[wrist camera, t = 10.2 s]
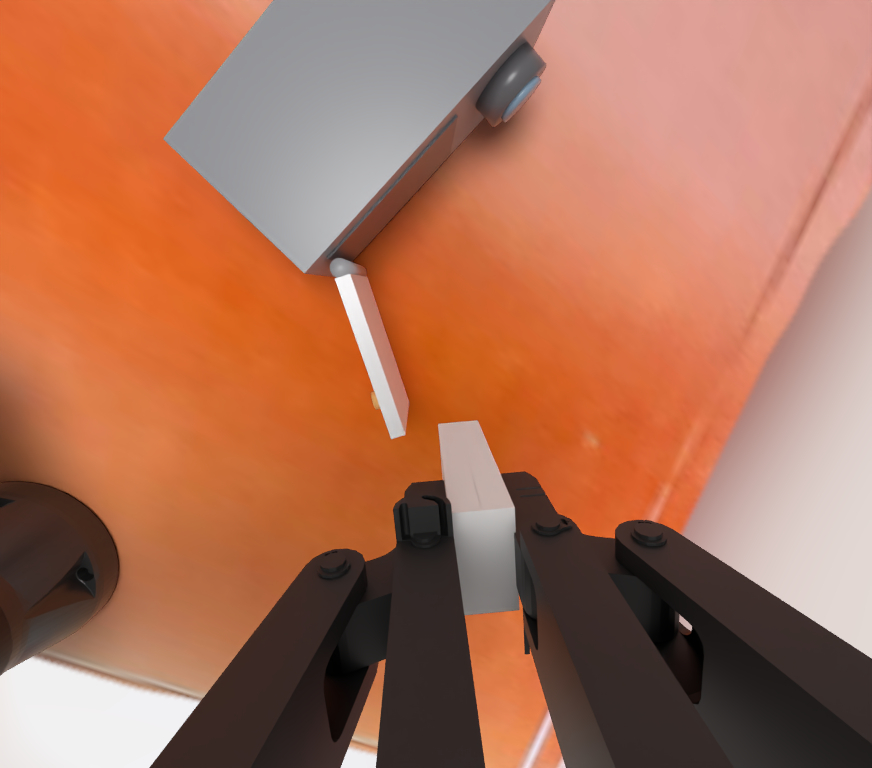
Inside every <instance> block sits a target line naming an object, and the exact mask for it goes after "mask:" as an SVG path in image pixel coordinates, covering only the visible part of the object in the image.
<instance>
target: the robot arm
mask: <svg viewBox="0 0 872 768" xmlns="http://www.w3.org/2000/svg"><path fill="white" fill-rule="evenodd" d="M438 429H439V441H440V453H441V465H442V477H443V480H439V481H428V482H416V483H412V484H411V485H410V486H409V487H408V488H407V489H406V491H405V497H404V498H402V499H401V500H400V501H398V502H397V503H396V504H395V506H394V508H393V513H394V522H395V531H396V539H397V544H396V548H394V549H393V550H392V551H391V552H389V553H387V554H386V555H384V556H382V557H379V558H376V559H373V560H370V561H367V562H365V560H364V558H363V555H362V554H360V553H359V552H357V551H355V550H350V549H335V550H331V551H327V552H324V553H322V554H320V555H319V556H317V557H315V558H313V559H312V560H311V561H310V562H309V563H308V564H307V565H306V566H305V567H304V568H303V570H302V571H301V572H300V573H299V575H298V576H297V577H296V579H295V580H294V581H293V583H292V584H291V585H290V586H289V588H288V589H287V590H286V592H285V593H284V594H283V596H282V597H281V598H280V599H279V601H278V602H277V603H276V605H275V606H274V607H273V608H272V610H271V611H270V612H269V614H268V615H267V616H266V618H265V619H264V620H263V621H262V623H261V624H260V625H259V627H258V628H257V629H256V630H255V632H254V633H253V634H252V636H251V637H250V638H249V640H248V641H247V642H246V643H245V645H244V646H243V647H242V649H241V650H240V651H239V653H238V654H237V655H236V656H235V658H234V659H233V660H232V662H231V663H230V664H229V665H228V667H227V668H226V669H225V671H224V672H223V673H222V675H221V676H220V677H219V678H218V680H217V681H216V682H215V684H214V685H213V686H212V687H211V689H210V690H209V691H208V693H207V694H206V695H205V697H204V698H203V699H202V700H201V702H200V703H199V704H198V706H197V707H196V708H195V709H194V711H193V712H192V713H191V715H190V716H189V717H188V719H187V720H186V721H185V723H184V724H183V725H182V726H181V728H180V729H179V730H178V732H177V733H176V734H175V736H174V737H173V738H172V740H171V741H170V742H169V743H168V744H167V746H166V747H165V748H164V750H163V751H162V752H161V754H160V755H159V756H158V758H157V759H156V760H155V761H154V763H153V764H152V765H151V766H150V768H340V767H341V765H342V762H343V760H344V757H345V754H346V752H347V749H348V747H349V744H350V741H351V739H352V736H353V733H354V731H355V728H356V726H357V723H358V720H359V718H360V715H361V712H362V710H363V707H364V705H365V702H366V699H367V697H368V694H369V691H370V689H371V686H372V684H373V681H374V678H375V676H376V673H377V668H378V662H379V661H381V660H384V659H386V664H385V675H384V686H383V697H382V708H381V718H380V729H379V740H378V751H377V762H376V768H485V763H484V755H483V748H482V741H481V733H480V726H479V719H478V711H477V704H476V696H475V689H474V682H473V674H472V667H471V660H470V652H469V645H468V638H467V630H466V623H465V615H472V614H483V613H493V612H504V611H514V610H519V596H520V599H521V602H522V605H523V620H524V644H525V654H530V649H531V652H532V656H533V659H534V662H535V666H536V669H537V672H538V676H539V679H540V682H541V686H542V689H543V692H544V696H545V699H546V702H547V706H548V709H549V712H550V716H551V719H552V722H553V726H554V729H555V732H556V736H557V739H558V743H559V746H560V749H561V753H562V756H563V759H564V763H565V766H566V768H872V659H871V658H870V657H868V656H867V655H865V654H864V653H862V652H861V651H859V650H857V649H856V648H854V647H853V646H851V645H850V644H848V643H847V642H845V641H844V640H842V639H840V638H839V637H837V636H836V635H834V634H833V633H831V632H829V631H828V630H827V629H825V628H823V627H822V626H820V625H819V624H817V623H816V622H814V621H813V620H811V619H810V618H808V617H807V616H805V615H804V614H802V613H801V612H799V611H797V610H796V609H794V608H793V607H791V606H790V605H788V604H787V603H785V602H784V601H782V600H781V599H779V598H777V597H776V596H774V595H773V594H771V593H770V592H768V591H767V590H765V589H764V588H762V587H760V586H759V585H758V584H756V583H754V582H753V581H751V580H749V579H748V578H747V577H745V576H744V575H742V574H741V573H739V572H737V571H736V570H734V569H733V568H731V567H730V566H728V565H727V564H725V563H724V562H722V561H720V560H719V559H718V558H716V557H714V556H713V555H711V554H710V553H708V552H707V551H705V550H704V549H702V548H701V547H699V546H698V545H696V544H694V543H693V542H691V541H690V540H688V539H687V538H685V537H684V536H682V535H681V534H679V533H678V532H676V531H674V530H673V529H671V528H669V527H667V526H665V525H663V524H659V523H655V522H652V521H648V520H645V521H644V520H634V521H626V522H624V523H622V524H620V525H619V526H618V527H617V528H616V530H615V539H613V538H603V537H595V536H589V535H585V534H582V533H581V531H580V530H579V528H578V527H577V525H576V524H575V523H574V522H573V521H572V520H571V519H569V518H567V517H565V516H563V515H559V514H557V512H556V510H555V509H554V507H553V505H552V504H551V502H550V500H549V499H548V497H547V495H545V492H544V490H543V489H542V488H541V486H540V484H539V482H538V481H537V479H536V478H535V477H533V476H532V475H530V474H528V473H527V472H514V473H503V474H500V472H499V469H498V467H497V465H496V462H495V460H494V458H493V455H492V453H491V451H490V448H489V446H488V444H487V441H486V439H485V436H484V434H483V432H482V429H481V427H480V425H479V422H478V420H476V421H465V422H453V423H442V424H438ZM117 577H118V559H117V553H116V550H115V547H114V544H113V541H112V539H111V537H110V535H109V533H108V532H107V530H106V529H105V527H104V526H103V524H102V523H101V522H100V520H99V519H98V518H97V517H96V516H95V515H94V514H93V513H92V512H91V511H90V510H89V509H88V508H87V507H85V506H84V505H83V504H82V503H80V502H79V501H77V500H76V499H74V498H72V497H71V496H69V495H67V494H65V493H63V492H61V491H59V490H56V489H54V488H51V487H48V486H44V485H40V484H36V483H30V482H3V483H0V675H2V674H3V673H4V672H5V671H7V670H9V669H11V668H12V667H14V666H16V665H18V664H20V663H21V662H23V661H25V660H27V659H29V658H31V657H32V656H34V655H36V654H38V653H40V652H41V651H43V650H45V649H47V648H49V647H50V646H52V645H54V644H56V643H58V642H59V641H61V640H63V639H65V638H67V637H68V636H70V635H72V634H73V633H75V632H76V631H78V630H79V629H80V628H81V627H83V626H84V625H85V624H86V623H87V622H88V621H89V620H90V619H91V618H92V617H93V616H94V615H95V614H96V613H97V612H98V611H99V610H100V609H101V608H102V607H103V606H104V605H105V604H106V603H107V601H108V600H109V598H110V597H111V595H112V593H113V591H114V588H115V586H116V582H117ZM518 593H519V594H518ZM679 614H680V615H681V616H682V617H683V618H684V619H686V620H687V621H688V622H689V623H690V624H691V625H692V631H690V630H688V629H687V628H686V627H684V626H683V625H682V624H681V623H680V622H679Z"/></svg>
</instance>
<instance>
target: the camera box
mask: <svg viewBox="0 0 872 768" xmlns="http://www.w3.org/2000/svg"><path fill="white" fill-rule="evenodd" d="M554 2H555V0H273V1H272V3H271V4H270V5H269V7H268V8H267V9H266V10H265V12H264V13H263V14H262V15H261V17H260V18H259V19H258V20H257V22H256V23H255V24H254V25H253V27H252V28H251V29H250V30H249V32H248V33H247V34H246V35H245V37H244V38H243V39H242V40H241V42H240V43H239V44H238V45H237V47H236V48H235V49H234V50H233V52H232V53H231V54H230V56H229V57H228V58H227V59H226V61H225V62H224V63H223V64H222V66H221V67H220V68H219V69H218V71H217V72H216V73H215V74H214V76H213V77H212V78H211V79H210V81H209V82H208V83H207V84H206V86H205V87H204V88H203V89H202V91H201V92H200V93H199V94H198V96H197V97H196V98H195V99H194V101H193V102H192V103H191V105H190V106H189V107H188V108H187V110H186V111H185V112H184V113H183V115H182V116H181V117H180V118H179V120H178V121H177V122H176V123H175V125H174V126H173V127H172V128H171V130H170V131H169V132H168V133H167V135H166V136H165V137H164V138H163V139H164V140H165V141H166V142H167V143H168V144H169V145H170V146H171V147H172V148H173V149H174V150H175V151H176V152H177V153H178V154H179V155H181V156H182V157H183V158H184V159H185V160H186V161H187V162H188V163H189V164H190V165H191V166H192V167H193V168H194V169H195V170H196V171H197V172H198V173H199V174H201V175H202V176H203V177H204V178H205V179H206V180H207V181H208V182H209V183H210V184H211V185H212V186H213V187H214V188H215V189H216V190H217V191H218V192H219V193H220V194H222V195H223V196H224V197H225V198H226V199H227V200H228V201H229V202H230V203H231V204H232V205H233V206H234V207H235V208H236V209H237V210H238V211H239V212H240V213H242V214H243V215H244V216H245V217H246V218H247V219H248V220H249V221H250V222H251V223H252V224H253V225H254V226H255V227H256V228H257V229H258V230H259V231H260V232H261V233H263V234H264V235H265V236H266V237H267V238H268V239H269V240H270V241H271V242H272V243H273V244H274V245H275V246H276V247H277V248H278V249H279V250H280V251H281V252H282V253H284V254H285V255H286V256H287V257H288V258H289V259H290V260H291V261H292V262H293V263H294V264H295V265H296V266H297V267H298V268H299V269H300V270H301V271H302V272H304V273H306V274H314V275H322V276H330V277H335V276H333V275H332V273H331V271H330V264H331V262H332V261H333V260H334V259H336V258H342V259H345V260H348V261H351V262H352V261H353V260H354V259H355V258H356V257H357V256H358V255H359V254H360V253H361V252H362V250H363V249H364V248H365V247H366V246H367V245H368V244H369V243H370V242H371V241H372V240H373V238H374V237H375V236H376V235H377V234H378V233H379V232H380V231H381V230H382V229H383V228H384V226H385V225H386V224H387V223H388V222H389V221H390V220H391V219H392V218H393V217H394V216H395V215H396V213H397V212H398V211H399V210H400V209H401V208H402V207H403V206H404V205H405V204H406V203H407V201H408V200H409V199H410V198H411V197H412V196H413V195H414V194H415V193H416V192H417V191H418V189H419V188H420V187H421V186H422V185H423V184H424V183H425V182H426V181H427V180H428V179H429V178H430V176H431V175H432V174H433V173H434V172H435V171H436V170H437V169H438V168H439V167H440V166H441V164H442V163H443V162H444V161H445V160H446V159H447V158H448V157H449V156H450V155H451V154H452V152H453V151H454V150H455V149H456V148H457V147H458V146H459V145H460V144H461V143H462V142H463V141H464V139H465V138H466V137H467V136H468V135H469V134H470V133H471V132H472V131H473V130H474V129H475V127H476V126H477V125H478V124H479V123H480V122H481V121H482V120H483V119H484V118H485V119H486V120H487V121H488V122H489V123H490V125H491V126H492V127H493V128H494V127H496V126H497V125H498V124H500V123H501V122H502V121H504V122H507V121H508V120H509V119H510V118H511V117H512V116H513V115H514V114H515V113H516V112H517V111H518V110H519V109H520V108H521V107H522V106H523V105H524V103H525V102H526V101H527V100H528V99H529V97H530V96H531V95H532V94H533V92H534V91H535V90H536V88H537V87H538V85H539V84H540V82H541V79H540V78H539V77H540V76H541V74H542V73H543V71H544V70H545V68H546V63H545V62H544V61H543V60H542V59H541V57H540V56H539V55H538V54H537V52H536V51H535V50H534V49H533V47H534V45H535V43H536V41H537V39H538V37H539V34H540V32H541V30H542V28H543V26H544V24H545V21H546V19H547V17H548V15H549V13H550V11H551V8H552V6H553V4H554Z"/></svg>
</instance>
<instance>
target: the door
mask: <svg viewBox="0 0 872 768" xmlns="http://www.w3.org/2000/svg"><path fill="white" fill-rule="evenodd" d="M330 271H331V273H332V275H333V276H335V277H337V278H335V281H336V284H337V287H338V289H339V292H340V295H341V298H342V301H343V304H344V306H345V309H346V312H347V315H348V318H349V321H350V323H351V326H352V329H353V332H354V335H355V338H356V340H357V343H358V346H359V349H360V352H361V355H362V358H363V360H364V363H365V366H366V369H367V372H368V375H369V377H370V380H371V383H372V386H373V389H374V391H373V392H371V398H372V402H373V405H374V407H375V409H376V410H377V409H381V411H382V414H383V417H384V420H385V423H386V426H387V428H388V431H389V434H390V437H391V439H393V438H397V437H400V436H403V435H405V434H406V425H407V417H408V409H409V400H408V397H407V394H406V391H405V388H404V385H403V382H402V379H401V376H400V373H399V370H398V367H397V364H396V361H395V358H394V355H393V352H392V349H391V346H390V343H389V340H388V337H387V334H386V331H385V328H384V325H383V322H382V319H381V316H380V313H379V310H378V307H377V304H376V301H375V298H374V295H373V292H372V289H371V286H370V283H369V280H368V277H366V276H367V270H366V269H365V267H364V266H362V265H359V264H356V263H353V262H351V261H348V260H345V259H342V258H336V259H334V260H333V261H332V262H331V264H330Z"/></svg>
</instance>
